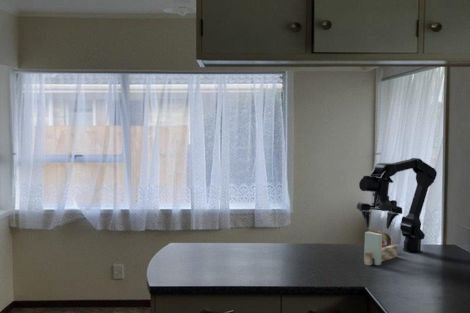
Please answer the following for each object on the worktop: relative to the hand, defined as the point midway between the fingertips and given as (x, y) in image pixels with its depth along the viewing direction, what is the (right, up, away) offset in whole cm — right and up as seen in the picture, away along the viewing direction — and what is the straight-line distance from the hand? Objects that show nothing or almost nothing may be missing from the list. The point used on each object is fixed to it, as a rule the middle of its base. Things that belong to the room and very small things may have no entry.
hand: (377, 227), depth 219 cm
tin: (+4, -12, +13) cm, 18 cm away
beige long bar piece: (0, -13, -8) cm, 15 cm away
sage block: (-5, -13, -12) cm, 18 cm away
